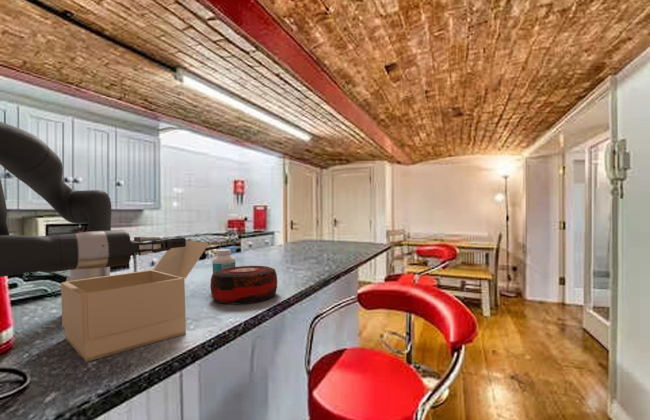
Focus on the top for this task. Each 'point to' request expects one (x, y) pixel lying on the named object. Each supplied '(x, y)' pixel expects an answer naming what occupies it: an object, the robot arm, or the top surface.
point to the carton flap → (181, 259)
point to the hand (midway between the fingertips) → (184, 242)
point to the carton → (122, 312)
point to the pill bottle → (223, 260)
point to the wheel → (243, 284)
